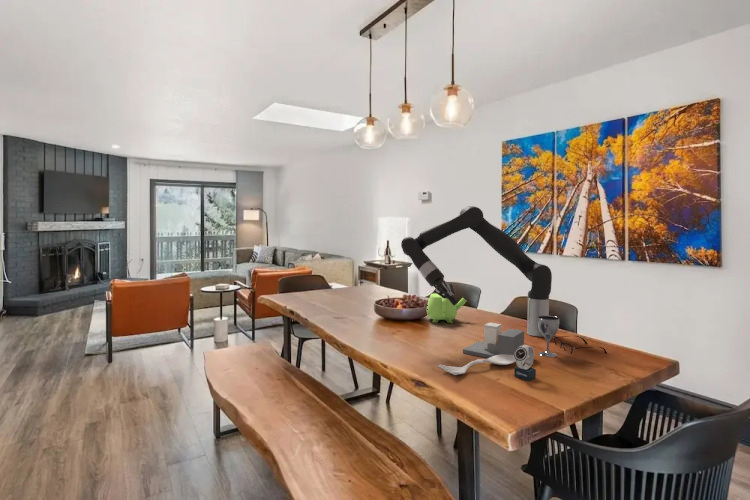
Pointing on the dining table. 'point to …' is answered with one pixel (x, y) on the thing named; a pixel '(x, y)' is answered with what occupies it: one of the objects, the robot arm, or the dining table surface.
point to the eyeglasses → (572, 346)
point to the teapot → (442, 308)
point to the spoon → (496, 359)
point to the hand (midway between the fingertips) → (456, 304)
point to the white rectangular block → (491, 334)
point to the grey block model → (506, 344)
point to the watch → (520, 358)
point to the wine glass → (548, 331)
